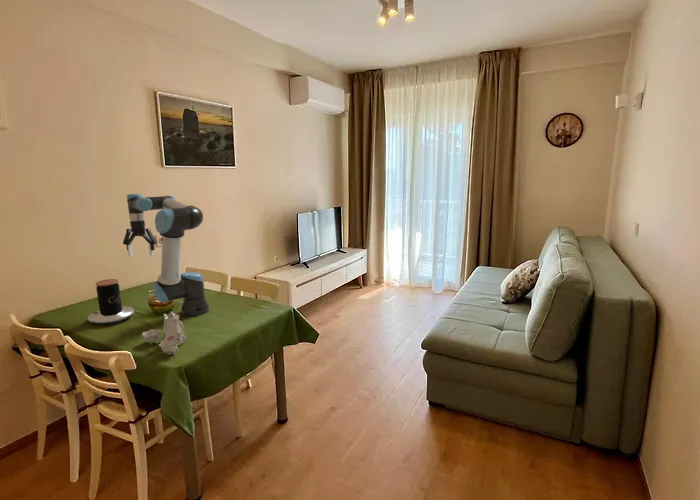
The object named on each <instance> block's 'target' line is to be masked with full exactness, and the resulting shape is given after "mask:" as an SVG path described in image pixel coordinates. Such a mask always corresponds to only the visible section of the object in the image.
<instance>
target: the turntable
mask: <svg viewBox="0 0 700 500" xmlns="http://www.w3.org/2000/svg"><path fill="white" fill-rule="evenodd" d="M134 313H135V309H134V308H133V307H132V306H127V305H122V311H121V312H120V313H118V314H115V315H111V316H103V315H102V314H100V309H98V310H96V311H92V312H91V313H90V314H88V316H87V320H88V322H90V323H92V324H96V323H108V322H114V321H118V320H122V319H125V318H127V317H128V318H130V317H131V316H132V315H134ZM128 318H127V319H128Z"/></svg>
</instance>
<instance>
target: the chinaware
mask: <svg viewBox="0 0 700 500" xmlns="http://www.w3.org/2000/svg"><path fill="white" fill-rule="evenodd" d="M162 315H163V319H164V320H163V326H162V327H163V332H162V329H154V328H152V329H149V330H148V331H144V332H142V333H141V337H142V338H143V339H144V340H145V342H147V343H148V344H149V343H154V342H156V343H157V342H158V340H160V337H161V334H162V333H163V335H162V337H161V340H162V341H160V343H159V344H158V347H160V348H161V351H162V352H163V353H164V354H167V353H168V354H169V353H173V354H172V355H175V354H178V353H179V348H178V347H179V346H181V345H180V344H182V343H183V342H184V343H185V341H186V339H187V334H186V333H185V326H184V324H183V322H182V321H181V320H179V319H180V314H177V313H174V312H173V311H170V312H169V314H168V315H167V314H166V313H163V314H162ZM184 343H183V344H184ZM183 344H182V345H183ZM178 345H179V346H178Z"/></svg>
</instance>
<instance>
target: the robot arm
mask: <svg viewBox="0 0 700 500" xmlns="http://www.w3.org/2000/svg"><path fill="white" fill-rule="evenodd" d="M126 201H127V209H128V216H129V225H130V227H131V228H130V227H129V228H126V231H125V235H124V239H123V241H122V244H123V245H125V246H126V250H127V252H128V257H132V256H134V251H133V244H132V242H133V240H134V239H135V238H136V237H142V238H144V240H145V241H146V242H147V243H148V244H149V245H148V248H149V256H150V257H153V256H155V245H156V244H157V243H158V241H157V240H156V238H155V236H154V235H153V233H152V231H151V230H152V229H151V228H149V227H148V228H146V224H145V215H144V212H148V211H157V213H156V215H155V217H154V218H155V219H154V225H155V229H156V232H158V233H159V235H160V236H161V237H162V243H161V244H162V245H161V265H160V266H161V267H160V275H158V277H157V281H155V282H153V283H152V290H153V294H154V296H155V298H156V299H157V301H158V302H160V303H167V302H172V301H175V300H179V299H183V301H182V305H181V309H180V311H181V312H180V313H181V315H182V316H185V317H195V316H201V315H203V314H206V313H208V312H209V311H210V306H209V303H208V300H207V299H206V295H205V282H204V276H203V274H202V273H200V272H196V271H195V272H194V271H191V272H190V271H186V272H182V273H181V274H180V275H179V272H180V271H179V270H180V255H181V254H180V253H181V244H182V243H181V242H182V241H181V240H182V238H184V236H185V231H190V230H194V229H196V228H199V226H200V225H201V224H202V223H203V221H204V214H203V211H202V209H200V208H199V207H197V206H194V205H192V204H191V205H187V204H186V203H185V204H184V203H183V202H180V201H178V200H177V199H176V198H175V196H173V195H164V196H163V195H162V196H147V197H142V194H141V193H128V194H127V196H126ZM158 210H159V211H158Z"/></svg>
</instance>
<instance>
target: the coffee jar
mask: <svg viewBox="0 0 700 500" xmlns="http://www.w3.org/2000/svg"><path fill="white" fill-rule="evenodd" d="M95 286H96V288H95V289H96V294H97V301H98V307H99V309H98V310H100V314H102V315H103V316H111V315H115V314H118V313H120V312H121V311H122V306H123V305H122V298H121V297H122V296H121V290H120V284H119V280H118V279H117V278H111V279H110V278H109V279H103V280H99V281H97V282H95Z"/></svg>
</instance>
